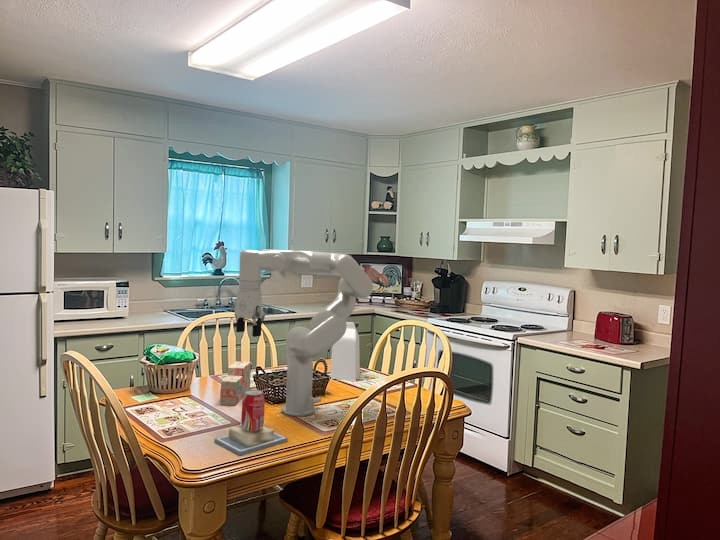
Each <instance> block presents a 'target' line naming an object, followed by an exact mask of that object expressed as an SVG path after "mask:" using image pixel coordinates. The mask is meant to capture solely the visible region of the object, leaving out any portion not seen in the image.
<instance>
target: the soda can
mask: <svg viewBox="0 0 720 540" xmlns="http://www.w3.org/2000/svg"><path fill="white" fill-rule="evenodd" d="M244 393H245V394H244V396H243V398H242V399H241V421H240V423H241V425H242V428H243V429H244V430H245V431H247V432H257V431H259V430H260V429H262V428H263V425H264V423H265V407H266V406H265V401H266V400H265V399H266V398H265V395H264V391H263V390H261V389H256V388H255V389H250V390H246V391H245V392H244ZM241 425H240V426H241ZM264 426H265V425H264Z"/></svg>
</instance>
